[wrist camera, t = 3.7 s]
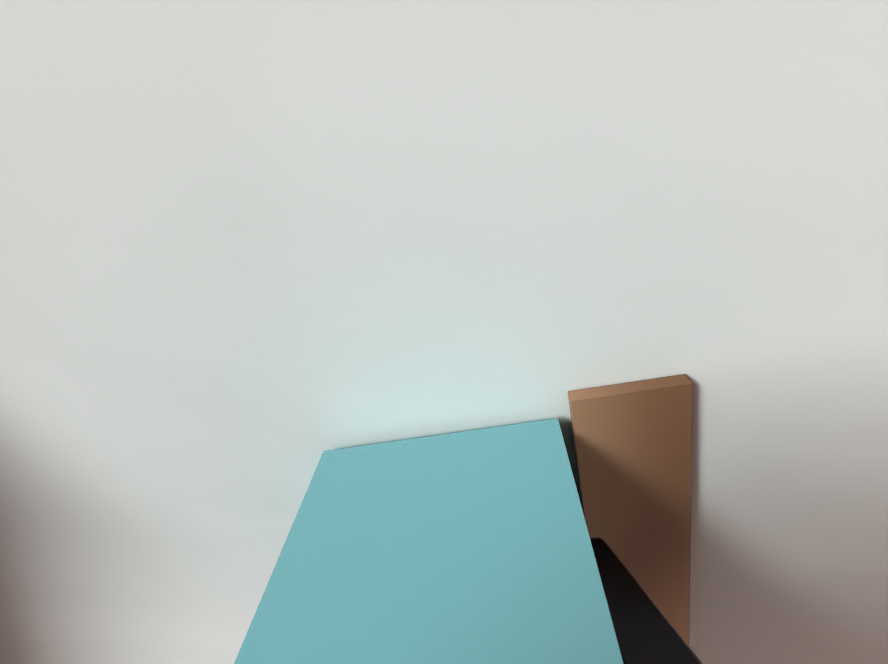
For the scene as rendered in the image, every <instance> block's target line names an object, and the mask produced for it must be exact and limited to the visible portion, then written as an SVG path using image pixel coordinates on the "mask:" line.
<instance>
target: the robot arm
mask: <svg viewBox="0 0 888 664" xmlns="http://www.w3.org/2000/svg"><path fill="white" fill-rule="evenodd" d="M590 540H591V544H592V548H593V552H594V555H595V559H596V563H597V567H598V570H599V574H600V578H601V582H602V585H603V589H604V593H605V597H606V600H607V604H608V608H609V612H610V615H611V619H612V623H613V627H614V630H615V634H616V638H617V642H618V645H619V649H620V653H621V656H622V660H623V664H702V663H701V661H700V660H699V659H698V658H697V656H696V655H695V654H694V652H693V651H692V650H691V649H690V647H689V646H688V645H687V644H686V642H685V641H684V640H683V639H682V637H681V636H680V635H679V634H678V632H677V631H676V630H675V629H674V627H673V626H672V625H671V624H670V622H669V621H668V620H667V619H666V617H665V616H664V615H663V614H662V612H661V611H660V610H659V609H658V607H657V606H656V605H655V603H654V602H653V601H652V600H651V598H650V597H649V596H648V595H647V593H646V592H645V591H644V590H643V588H642V587H641V586H640V585H639V583H638V582H637V581H636V580H635V578H634V577H633V576H632V575H631V573H630V572H629V571H628V570H627V568H626V567H625V566H624V565H623V563H622V562H621V561H620V560H619V558H618V557H617V556H616V554H615V553H614V552H613V551H612V549H611V548H610V547H609V546H608V544H607V543H606V542H605V541H604V540H603V539H602V538H600V537H595V538H590Z"/></svg>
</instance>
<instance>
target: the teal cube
mask: <svg viewBox="0 0 888 664" xmlns="http://www.w3.org/2000/svg"><path fill="white" fill-rule="evenodd" d="M234 664H623V660H622V656H621V653H620V649H619V645H618V642H617V638H616V634H615V630H614V627H613V623H612V619H611V615H610V612H609V608H608V604H607V600H606V597H605V593H604V589H603V585H602V582H601V578H600V574H599V570H598V567H597V563H596V559H595V555H594V552H593V548H592V544H591V540H590V537H589V533H588V529H587V525H586V522H585V518H584V514H583V510H582V507H581V503H580V499H579V495H578V492H577V488H576V484H575V480H574V477H573V473H572V469H571V466H570V462H569V458H568V454H567V451H566V447H565V443H564V439H563V436H562V432H561V428H560V424H559V421H558V418H555V419H548V420H541V421H534V422H527V423H520V424H513V425H506V426H499V427H491V428H484V429H477V430H470V431H463V432H456V433H449V434H442V435H435V436H427V437H420V438H413V439H406V440H399V441H392V442H385V443H378V444H371V445H364V446H356V447H349V448H342V449H335V450H328V451H324V452H323V454H322V456H321V459H320V461H319V464H318V466H317V468H316V471H315V473H314V475H313V478H312V480H311V483H310V485H309V487H308V490H307V492H306V494H305V497H304V499H303V502H302V504H301V506H300V509H299V511H298V513H297V516H296V518H295V521H294V523H293V525H292V528H291V530H290V532H289V535H288V537H287V540H286V542H285V544H284V547H283V549H282V551H281V554H280V556H279V559H278V561H277V563H276V566H275V568H274V571H273V573H272V575H271V578H270V580H269V582H268V585H267V587H266V590H265V592H264V594H263V597H262V599H261V601H260V604H259V606H258V609H257V611H256V613H255V616H254V618H253V620H252V623H251V625H250V628H249V630H248V632H247V635H246V637H245V639H244V642H243V644H242V647H241V649H240V651H239V654H238V656H237V658H236V661H235V663H234Z"/></svg>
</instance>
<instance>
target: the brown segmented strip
mask: <svg viewBox="0 0 888 664" xmlns="http://www.w3.org/2000/svg"><path fill="white" fill-rule="evenodd" d="M568 397H569V405H570V413H571V421H572V429H573V438H574V446H575V454H576V462H577V470H578V478H579V486H580V495H581V503H582V510H583V514H584V518H585V522H586V525H587V529H588V533H589V537H590V538H595V537H600V538H602V539H603V540H604V541H605V542H606V543H607V544H608V546H609V547H610V548H611V549H612V551H613V552H614V553H615V554H616V556H617V557H618V558H619V560H620V561H621V562H622V563H623V565H624V566H625V567H626V568H627V570H628V571H629V572H630V573H631V575H632V576H633V577H634V578H635V580H636V581H637V582H638V583H639V585H640V586H641V587H642V588H643V590H644V591H645V592H646V593H647V595H648V596H649V597H650V598H651V600H652V601H653V602H654V603H655V605H656V606H657V607H658V609H659V610H660V611H661V612H662V614H663V615H664V616H665V617H666V619H667V620H668V621H669V622H670V624H671V625H672V626H673V627H674V629H675V630H676V631H677V632H678V634H679V635H680V636H681V637H682V639H683V640H684V641H685V642H686V644H687V645H688V646H689V608H690V530H691V453H692V382H691V381H690V380H689V378H688V377H687V376H686V375H685V374H682V375H676V376H669V377H662V378H655V379H648V380H642V381H635V382H628V383H621V384H615V385H608V386H601V387H594V388H587V389H581V390H574V391H568Z"/></svg>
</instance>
